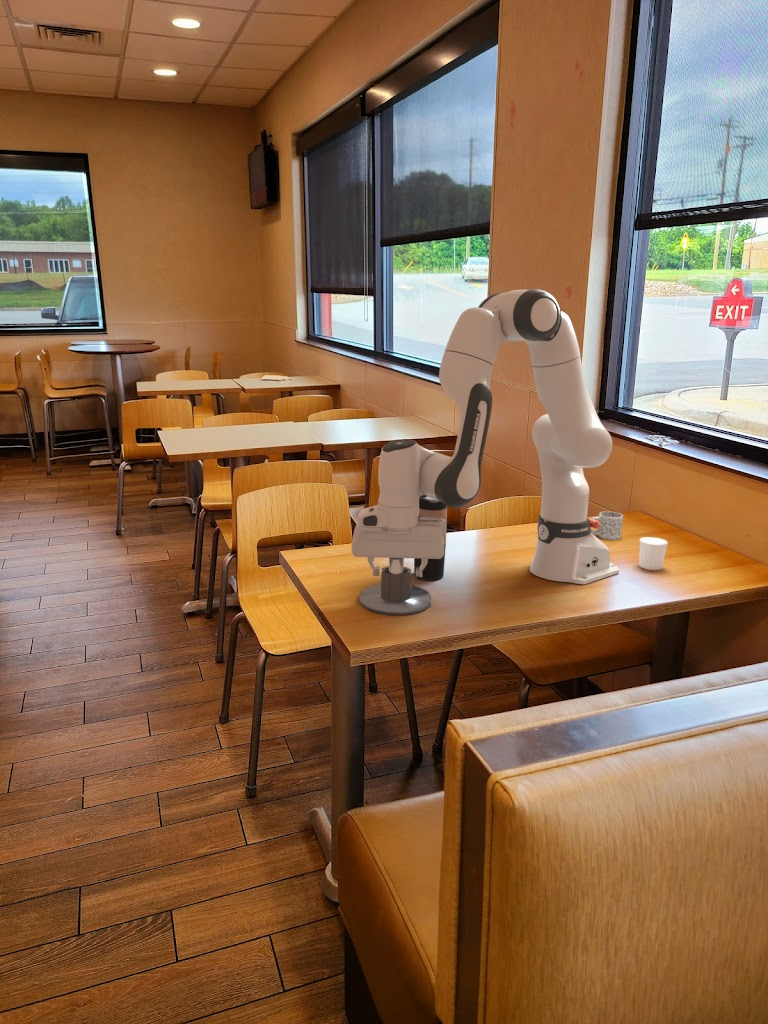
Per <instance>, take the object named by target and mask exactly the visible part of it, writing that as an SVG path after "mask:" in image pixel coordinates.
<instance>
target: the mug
mask: <svg viewBox="0 0 768 1024" xmlns="http://www.w3.org/2000/svg"><path fill="white" fill-rule="evenodd" d="M588 519H589V520H592V519H594V520H596V521H599V522H600V523H599V524H600V525H599V528H597V529H595V530H593V529H592V527H590V529H591V533H592V534H593V535H594V536H595V535H596V537H597V538H598V539H603V540H608V541H616V540H620V539H622V538H621V537H622V530H623V523H624V522H623V520H624V514H622V513H620V512H616V511H608V510H607V511H605V510H604V511H600V512H599V514H598V516H597V515H596V516H592V517H590V518H588ZM598 533H599V534H598ZM604 535H605V536H604Z"/></svg>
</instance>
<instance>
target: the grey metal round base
mask: <svg viewBox="0 0 768 1024" xmlns="http://www.w3.org/2000/svg"><path fill="white" fill-rule="evenodd" d="M404 561H405V558H388V566H389V574H395V575H401V574H403V566H404ZM358 601H359V604H360V606H361V607H362V608H363V609H365V610H366V611H367V610H368V611H369V612H372V613H375V614H380V615H386V616H409V615H410V616H411V615H415V614H419V613H422V612H424V611H426V610H428V609H429V608H430V607H431V605H432V595H431V593H430V592H429V591H428V590H426V589H424V588H422V587H420V586H416V585H413V584H410V599H408V600H405V601H402V602H394V601H387V600H385V599H383V598H381V583H378V584H373V585H371V586H368V587H366V588H364V589H362V590H361V591H360V593H359V600H358Z"/></svg>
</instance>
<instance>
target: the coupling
mask: <svg viewBox="0 0 768 1024" xmlns="http://www.w3.org/2000/svg"><path fill="white" fill-rule="evenodd" d="M380 574H381V575H380V577H381V578H380V584H381V598H383V599H385V600H387V601H394V602H402V601H405V600H408V599H410V585H412V584H411V582H412V581H411V576H412V569H411V568H409V567H407V566H404V565H403V574H401V575H395V574H389V565H388V566H385V567H382V568H381V572H380Z"/></svg>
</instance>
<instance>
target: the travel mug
mask: <svg viewBox="0 0 768 1024" xmlns="http://www.w3.org/2000/svg"><path fill="white" fill-rule="evenodd" d="M419 516H430V517H434V516H438V517H440V518H441V519H443V520H444V521H445V522H446V528H447V523H448V518H447V517H448V505H446V504H444V503H442V502H441V501H439V500H437V499H434V498H431V497H429V496H427V495H422V496H420V497H419ZM440 521H441V520H440ZM443 540H444V556H443V557H442V558H441V559H428V563H427V565H426V566H425V568H424V569H423V570H422V577H416V567H420V566H421V564H422V563H421V558H413V567H414V568H413V574H414V578H416V579H418V580H421V581H427V582H433V581H434V582H435V581H438V580H442V579H443V578H444V572H445V562H446V561H445V560H446V559H445V558H446V550H447V549H446V547H447V546H446V545H447V533H446V534H445V535H444V536H443Z"/></svg>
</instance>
